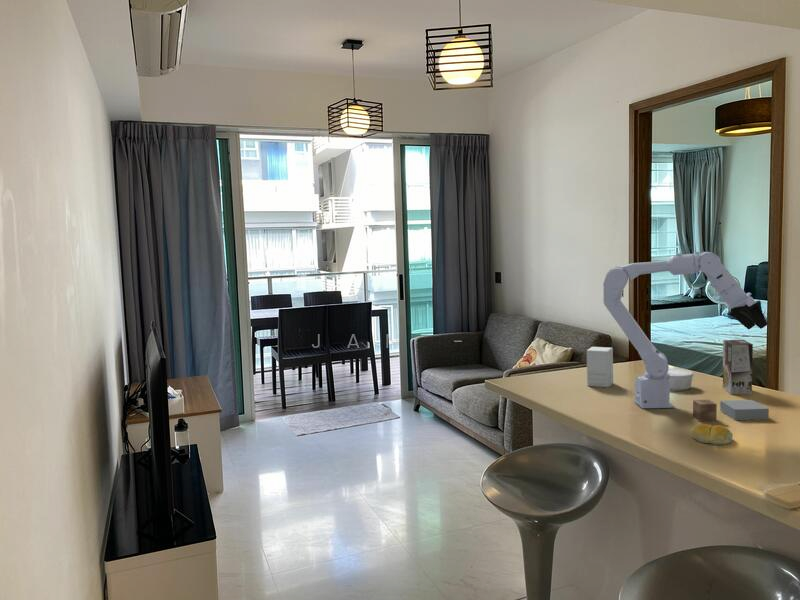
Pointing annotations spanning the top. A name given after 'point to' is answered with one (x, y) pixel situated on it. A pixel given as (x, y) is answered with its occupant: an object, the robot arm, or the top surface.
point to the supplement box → (600, 366)
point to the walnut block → (704, 410)
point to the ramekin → (680, 379)
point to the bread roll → (712, 434)
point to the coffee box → (737, 366)
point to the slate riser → (744, 410)
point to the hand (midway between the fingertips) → (757, 327)
